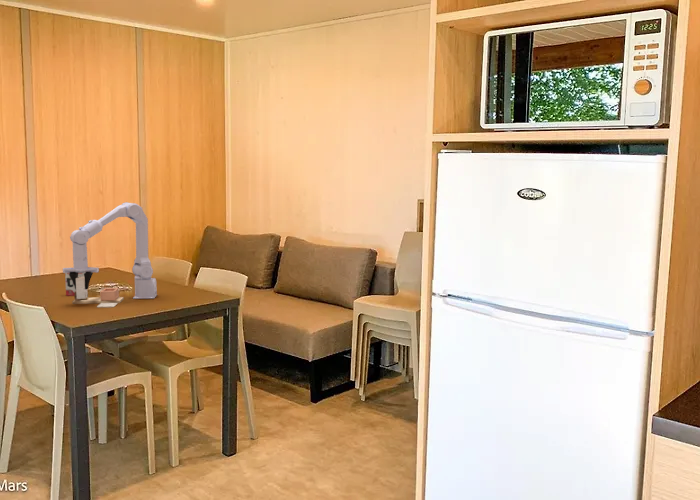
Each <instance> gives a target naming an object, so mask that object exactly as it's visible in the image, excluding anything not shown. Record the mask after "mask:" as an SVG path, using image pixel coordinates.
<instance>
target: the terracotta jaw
mask: <svg viewBox="0 0 700 500" xmlns="http://www.w3.org/2000/svg"><path fill="white" fill-rule="evenodd" d="M99 294H100V297H101V301H106V300H116V299H117V298H118V297H120V290H119V287H109V288H108V287H107V288H103V289H101V291H100V293H99Z"/></svg>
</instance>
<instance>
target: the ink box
mask: <svg viewBox="0 0 700 500" xmlns="http://www.w3.org/2000/svg"><path fill="white" fill-rule="evenodd" d="M85 273H86V272H84V273H78V277H84V274H85ZM64 274H65V276H64V277H65V296H66V297H75V295H74V292H75V291H76V290H75V286H74V283H73V281H72V279H71V278H70V276H69V274H70V273H64Z"/></svg>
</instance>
